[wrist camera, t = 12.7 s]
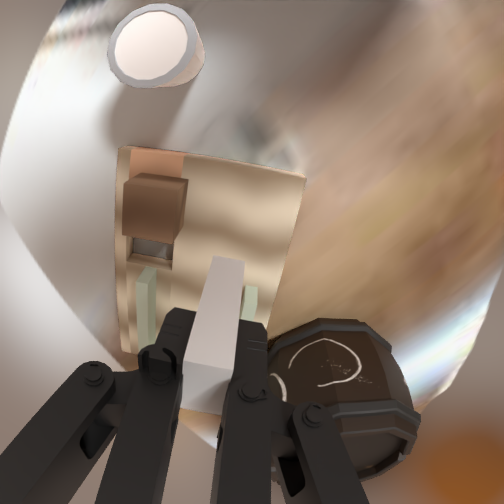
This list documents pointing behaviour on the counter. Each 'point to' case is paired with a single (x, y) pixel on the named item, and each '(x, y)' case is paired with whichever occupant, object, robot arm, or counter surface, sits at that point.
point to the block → (154, 207)
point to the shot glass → (156, 47)
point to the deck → (208, 231)
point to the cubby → (148, 306)
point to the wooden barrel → (348, 389)
